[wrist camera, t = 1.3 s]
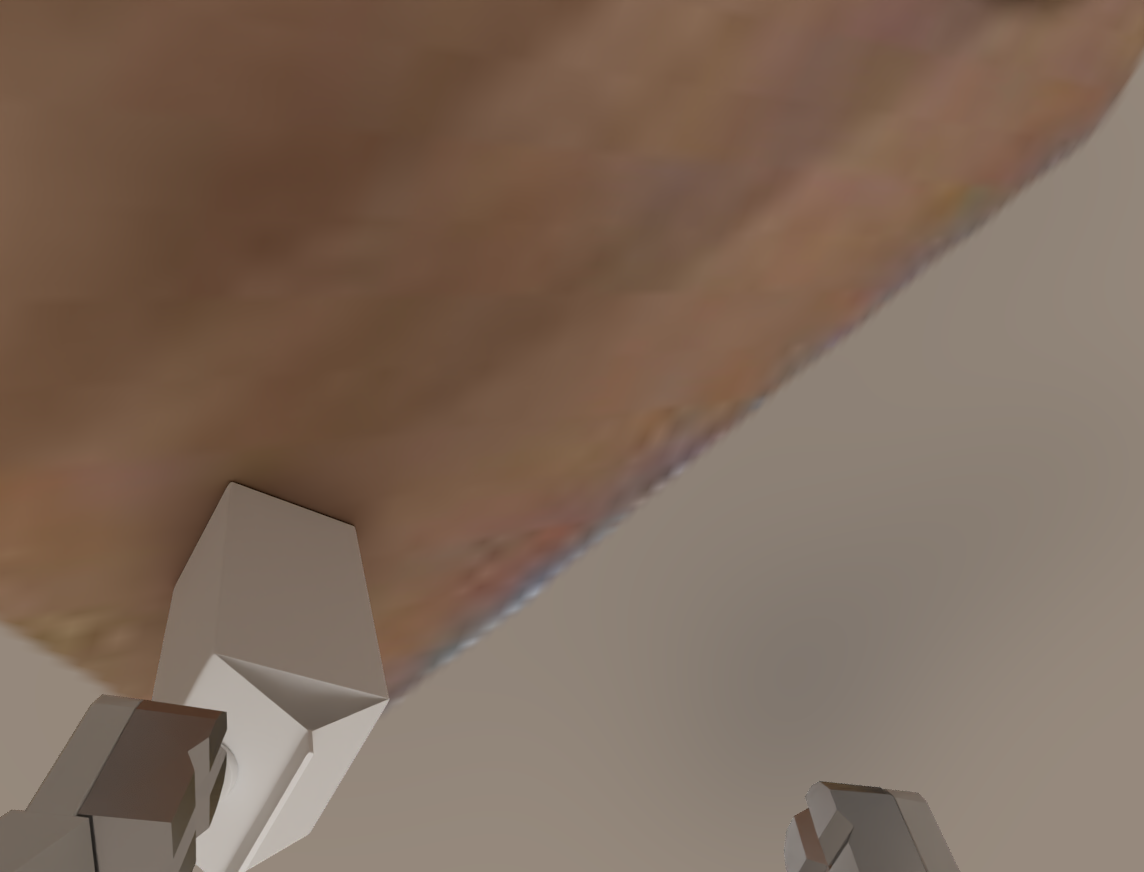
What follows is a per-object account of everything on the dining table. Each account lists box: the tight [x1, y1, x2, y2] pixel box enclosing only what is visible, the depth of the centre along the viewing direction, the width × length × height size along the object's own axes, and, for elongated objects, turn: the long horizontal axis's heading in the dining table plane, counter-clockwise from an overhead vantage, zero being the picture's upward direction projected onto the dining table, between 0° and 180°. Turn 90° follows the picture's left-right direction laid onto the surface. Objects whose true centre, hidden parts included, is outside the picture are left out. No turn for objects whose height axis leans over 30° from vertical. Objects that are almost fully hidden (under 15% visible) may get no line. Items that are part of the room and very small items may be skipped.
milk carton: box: [152, 482, 389, 872], centre depth 36 cm, size 7×7×19 cm
